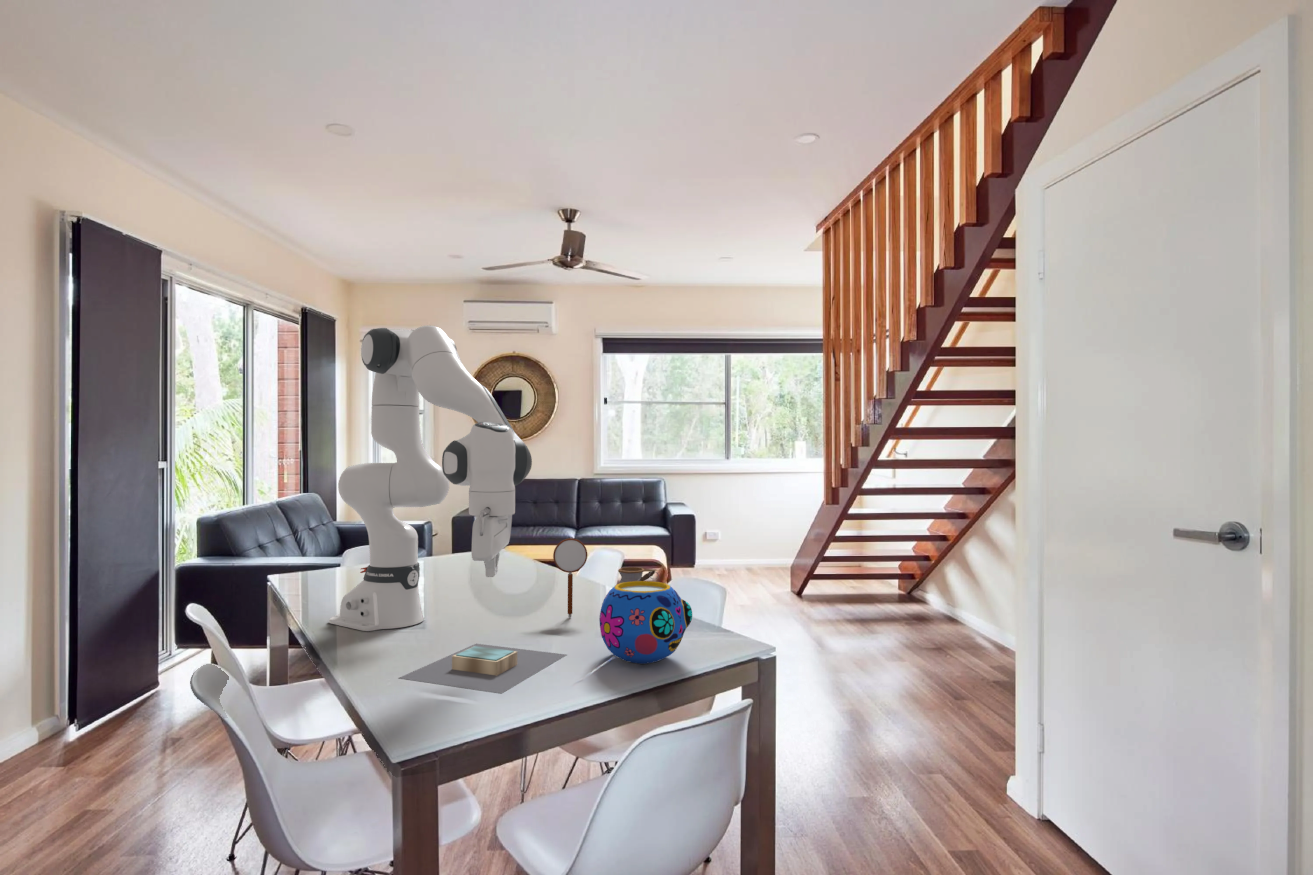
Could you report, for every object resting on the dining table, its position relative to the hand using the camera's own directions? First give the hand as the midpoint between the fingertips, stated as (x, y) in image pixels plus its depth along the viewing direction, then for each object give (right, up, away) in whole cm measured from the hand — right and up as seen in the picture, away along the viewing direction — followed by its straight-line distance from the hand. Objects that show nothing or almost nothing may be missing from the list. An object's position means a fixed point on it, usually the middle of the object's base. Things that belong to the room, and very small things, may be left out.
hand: (491, 575), depth 135 cm
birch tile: (+1, -16, +1) cm, 16 cm away
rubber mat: (0, -18, -2) cm, 18 cm away
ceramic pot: (+30, -18, +4) cm, 35 cm away
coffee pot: (+28, -19, +32) cm, 46 cm away
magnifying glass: (+10, -19, +39) cm, 45 cm away
